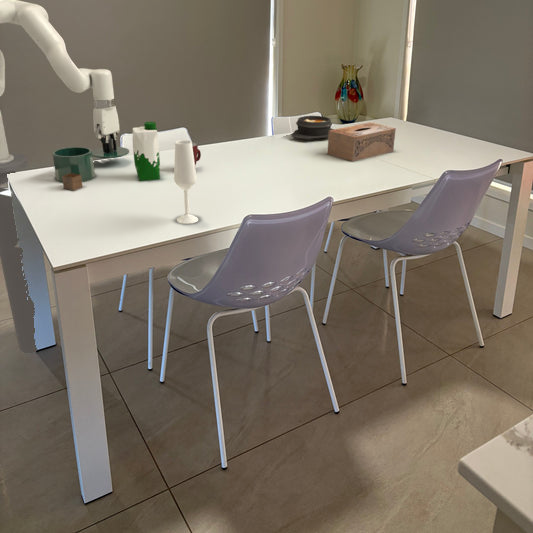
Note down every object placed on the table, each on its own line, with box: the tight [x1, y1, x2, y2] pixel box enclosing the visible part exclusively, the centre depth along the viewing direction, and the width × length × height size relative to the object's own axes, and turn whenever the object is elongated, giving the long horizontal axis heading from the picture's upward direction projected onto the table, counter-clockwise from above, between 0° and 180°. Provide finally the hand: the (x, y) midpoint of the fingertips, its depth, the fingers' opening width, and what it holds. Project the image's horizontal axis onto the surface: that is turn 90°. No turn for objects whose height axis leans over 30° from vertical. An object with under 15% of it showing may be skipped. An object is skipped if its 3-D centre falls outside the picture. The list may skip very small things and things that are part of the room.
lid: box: [92, 137, 130, 159], centre depth 231 cm, size 15×15×6 cm
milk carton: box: [132, 121, 161, 182], centre depth 214 cm, size 9×9×20 cm
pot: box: [52, 146, 96, 183], centre depth 216 cm, size 14×14×10 cm
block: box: [62, 173, 83, 192], centre depth 205 cm, size 4×4×4 cm
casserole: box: [290, 115, 335, 140], centre depth 275 cm, size 25×19×8 cm
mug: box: [191, 141, 202, 166], centre depth 226 cm, size 10×8×10 cm
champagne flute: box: [173, 139, 199, 225], centre depth 175 cm, size 7×7×24 cm
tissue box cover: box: [327, 121, 396, 162], centre depth 250 cm, size 26×14×10 cm, turn 130°
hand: (110, 150), depth 232 cm, fingers closed on lid, 3 cm apart
